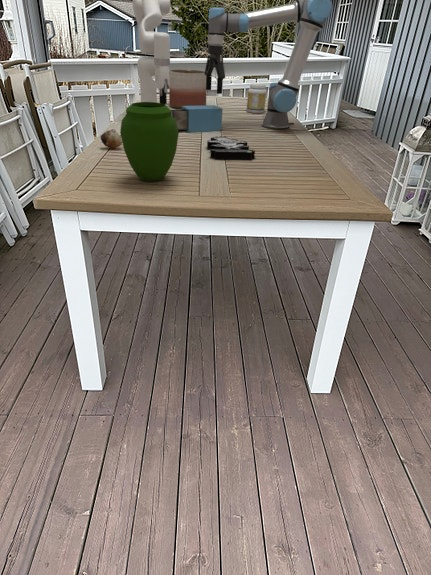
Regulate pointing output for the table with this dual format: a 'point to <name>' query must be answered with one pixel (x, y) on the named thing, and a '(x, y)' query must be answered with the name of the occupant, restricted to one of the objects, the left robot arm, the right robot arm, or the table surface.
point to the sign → (229, 149)
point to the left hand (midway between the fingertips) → (163, 103)
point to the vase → (149, 139)
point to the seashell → (111, 139)
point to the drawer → (180, 118)
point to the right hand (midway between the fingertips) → (213, 92)
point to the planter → (187, 88)
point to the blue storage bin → (204, 118)
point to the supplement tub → (256, 98)
